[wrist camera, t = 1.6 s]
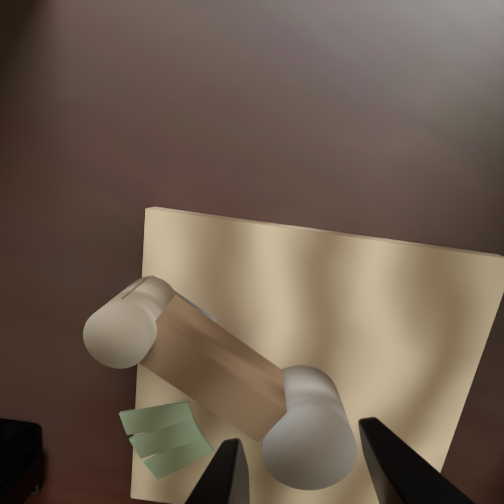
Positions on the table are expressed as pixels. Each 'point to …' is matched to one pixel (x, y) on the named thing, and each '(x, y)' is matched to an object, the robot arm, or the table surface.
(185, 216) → the striped placemat
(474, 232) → the table surface
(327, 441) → the wooden dumbbell
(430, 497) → the robot arm
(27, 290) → the table surface
